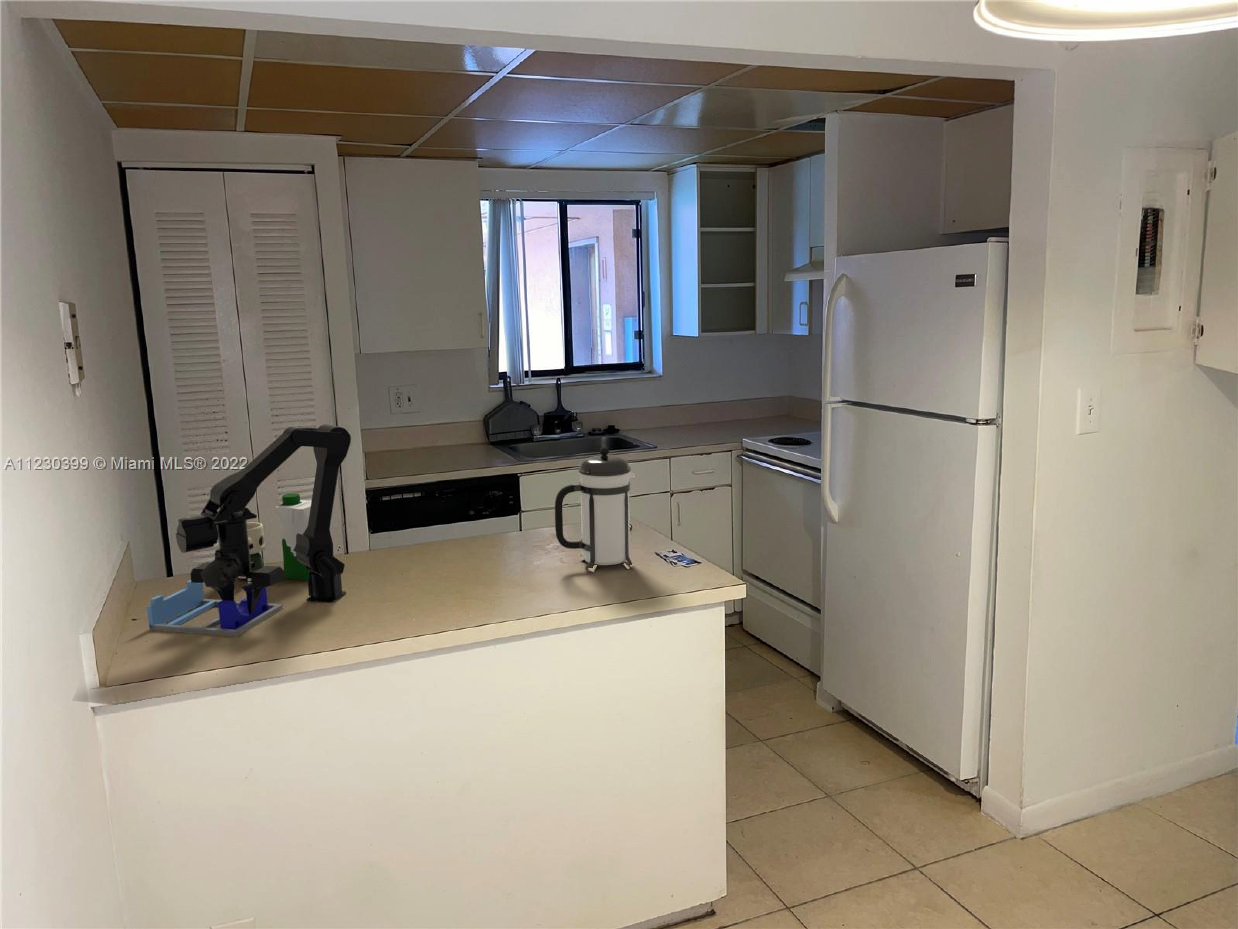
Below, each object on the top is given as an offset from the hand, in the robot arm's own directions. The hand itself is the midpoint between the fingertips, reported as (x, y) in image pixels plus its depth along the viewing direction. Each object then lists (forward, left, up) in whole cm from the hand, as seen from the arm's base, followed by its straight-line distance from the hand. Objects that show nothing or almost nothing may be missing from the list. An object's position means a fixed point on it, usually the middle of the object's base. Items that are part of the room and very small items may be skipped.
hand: (241, 613), depth 187 cm
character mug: (+16, -26, -2) cm, 30 cm away
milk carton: (+4, -30, -2) cm, 30 cm away
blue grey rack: (+6, 0, -2) cm, 6 cm away
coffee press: (-66, -50, -2) cm, 83 cm away
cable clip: (0, 0, -2) cm, 2 cm away
